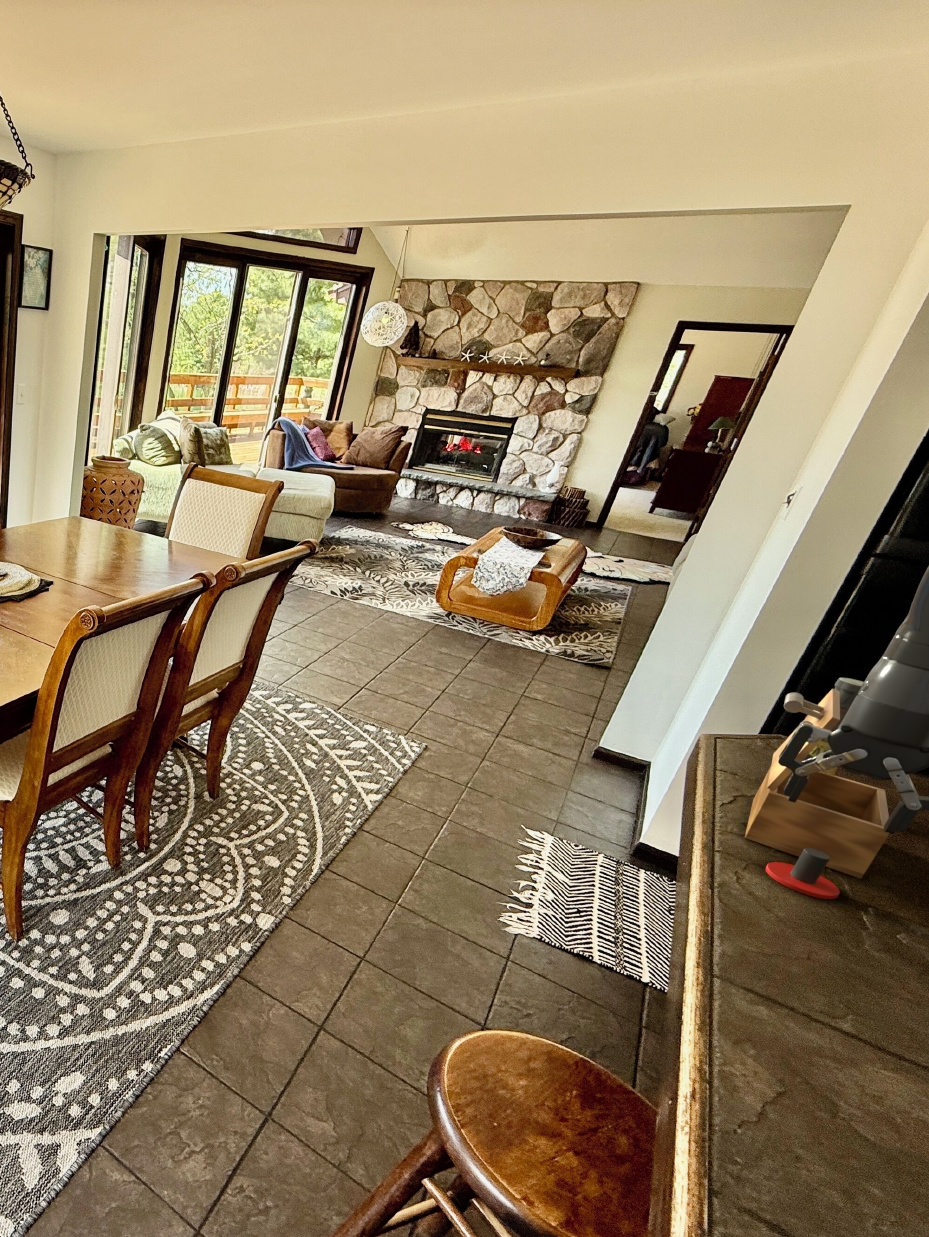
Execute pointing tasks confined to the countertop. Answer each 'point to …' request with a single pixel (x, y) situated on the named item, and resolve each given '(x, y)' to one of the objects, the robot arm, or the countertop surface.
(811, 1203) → the countertop surface
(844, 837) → the chest
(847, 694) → the sauce bottle
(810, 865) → the pan lid
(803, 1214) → the countertop surface
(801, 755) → the chest lid
